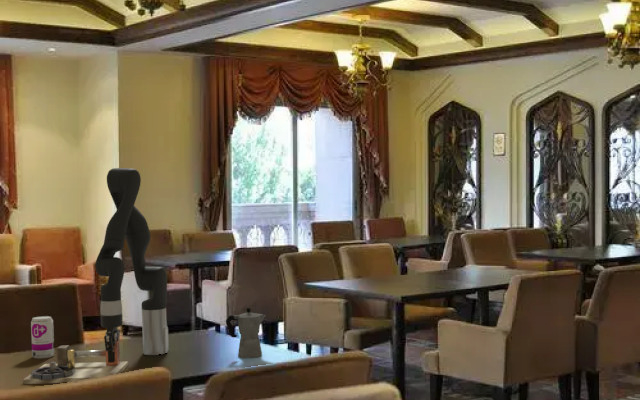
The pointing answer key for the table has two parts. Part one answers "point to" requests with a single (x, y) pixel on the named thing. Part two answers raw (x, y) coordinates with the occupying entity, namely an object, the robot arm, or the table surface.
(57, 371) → the handwheel
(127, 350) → the table surface
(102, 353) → the copper cube on rod
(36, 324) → the supplement can
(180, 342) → the table surface
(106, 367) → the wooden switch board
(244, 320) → the coffeepot
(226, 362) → the table surface
